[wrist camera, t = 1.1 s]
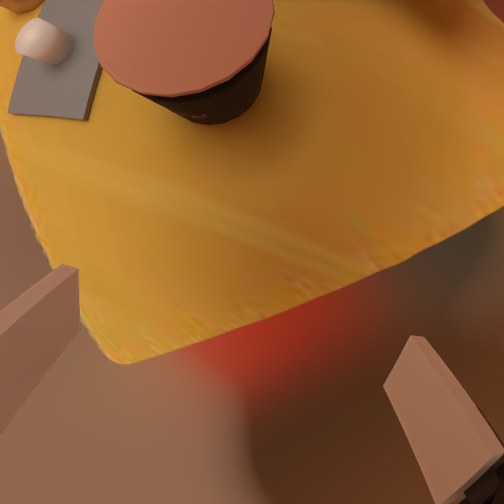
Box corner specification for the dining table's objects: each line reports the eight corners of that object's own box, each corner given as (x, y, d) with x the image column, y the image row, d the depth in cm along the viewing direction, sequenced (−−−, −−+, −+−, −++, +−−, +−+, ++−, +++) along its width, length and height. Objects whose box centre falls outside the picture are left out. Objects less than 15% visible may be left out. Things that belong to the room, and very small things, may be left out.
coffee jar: (149, 73, 29) (68, 16, 12) (228, 23, 28) (212, -73, 10) (198, 144, 32) (144, 134, 15) (281, 93, 30) (313, 33, 13)
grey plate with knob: (51, -1, 24) (20, -20, 16) (132, -8, 25) (108, -38, 18) (12, 113, 29) (-27, 111, 22) (87, 120, 31) (49, 115, 23)
